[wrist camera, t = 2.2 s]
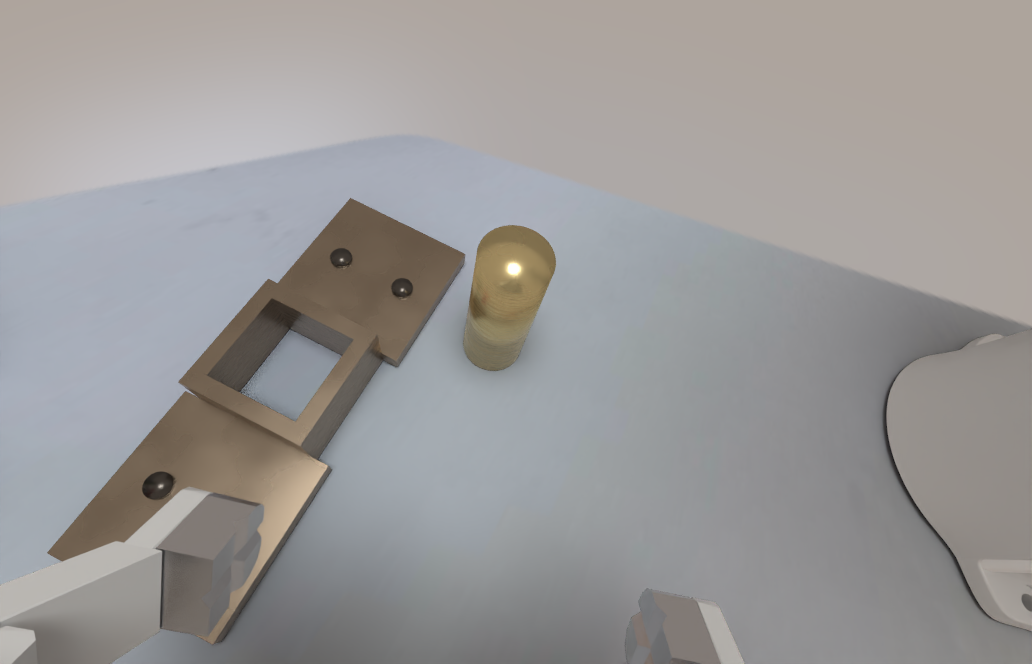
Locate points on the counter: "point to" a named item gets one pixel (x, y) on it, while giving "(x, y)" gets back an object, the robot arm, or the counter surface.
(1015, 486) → the robot arm
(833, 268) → the counter surface
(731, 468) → the counter surface
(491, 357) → the hinge pin
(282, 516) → the bronze socket bracket
